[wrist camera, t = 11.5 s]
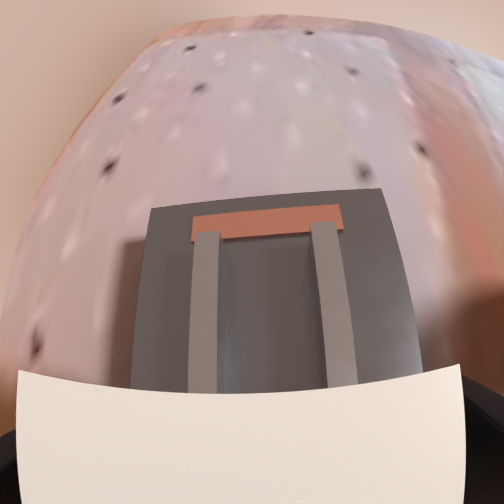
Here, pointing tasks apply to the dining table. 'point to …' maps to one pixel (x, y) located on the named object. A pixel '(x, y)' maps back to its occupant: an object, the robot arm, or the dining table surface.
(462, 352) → the dining table surface
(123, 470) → the handle
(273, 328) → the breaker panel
